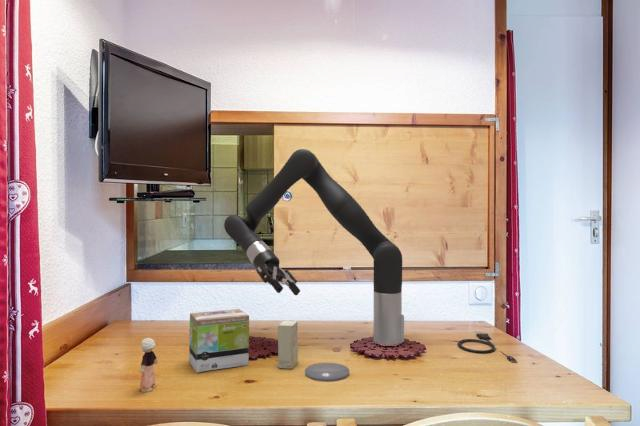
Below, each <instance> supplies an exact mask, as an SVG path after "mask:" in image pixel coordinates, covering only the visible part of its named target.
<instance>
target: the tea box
mask: <svg viewBox="0 0 640 426" xmlns="http://www.w3.org/2000/svg"><path fill="white" fill-rule="evenodd" d="M188 343H189V344H188V345H189V346H188V347H189V349H188V350H189V351H188V354H189V355H188V362H189V364H190V365H191V367H192V368H193V370H194V371H195V372H196V374H197V373H202V372H207V371H215V370H221V369H229V368H236V367H246V366H248V365H249V356H250V355H249V353H250V348H249V347H250V315H249V314H248V313H245V312H244V311H243V310H241V309H240V308H233V309H223V310H212V311H203V312H202V311H201V312H199V311H198V312H191V313H189V342H188Z"/></svg>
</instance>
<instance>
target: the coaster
mask: <svg viewBox="0 0 640 426" xmlns="http://www.w3.org/2000/svg"><path fill="white" fill-rule="evenodd" d="M304 375H305V376H306V377H307V378H309V379H311V380H314V381H318V382H337V381H341V380H344V379H346V378H347V377H348V376H349V375H350V369H349V367H347V366H346V365H343V364H341V363H335V362H318V363H313V364H310V365H308V366H307V367H305V369H304Z"/></svg>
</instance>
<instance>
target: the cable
mask: <svg viewBox="0 0 640 426" xmlns="http://www.w3.org/2000/svg"><path fill="white" fill-rule="evenodd" d="M475 335H476V337H477V339H476V338H465V339H464V338H463V339H461V340H459V341H458V342H457V346H458V348H460V349H461V350H464V351H467V352H469V353H473V354H492V353H494V352H495V351H496V346H495V344H493V342H492V341H490V340H492V338H491V336H490V335H489V334H488V333H476V334H475ZM465 343H478V344H484V345H485V346H488V347H490V349H486V350H485V349H483V350H477V349H473V348H472V349H471V348H469V347H468V348H467V347H465V346H463V344H465ZM499 351H500V353H501V354H502V355H504V356H505V357H506V359H507V361H508V362H510V363H511V364H518V360H517V359H516V358H515V357H514V356H511V355H508V354H505V353H504V352H503V351H501V350H499Z"/></svg>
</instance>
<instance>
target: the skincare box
mask: <svg viewBox="0 0 640 426" xmlns="http://www.w3.org/2000/svg"><path fill="white" fill-rule="evenodd" d="M298 330H299V329H298V320H282V321H281V322H280V323H279V324H278V325H277V352H278V353H277V355H278V356H277V359H278V364H277V365H278V366H277V367H278V368H279V369H287V370H288V369H289V370H290V369H294V368H295V367H296V365H297V364H298V363H299V349H298V348H299V345H298V344H299V341H298V338H299V337H298V334H299V333H298Z"/></svg>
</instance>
